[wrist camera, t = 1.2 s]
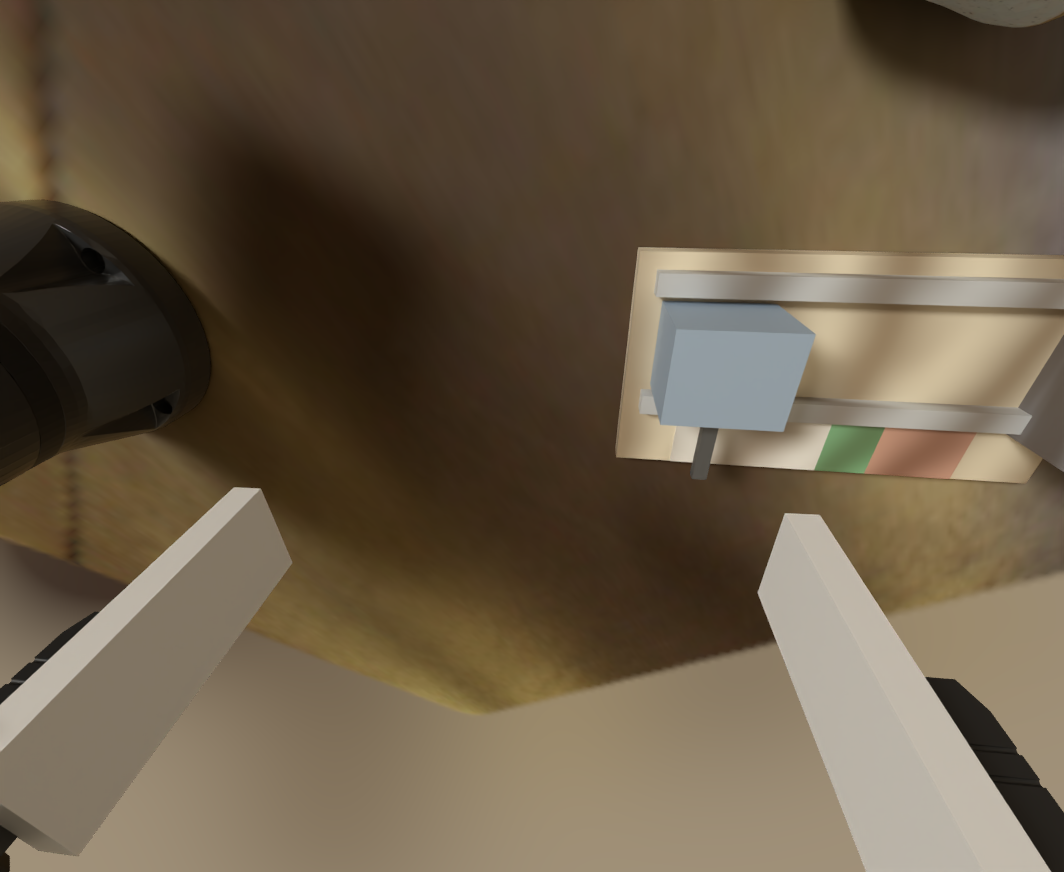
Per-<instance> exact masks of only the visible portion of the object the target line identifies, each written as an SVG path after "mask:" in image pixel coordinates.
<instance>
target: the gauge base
mask: <svg viewBox="0 0 1064 872" xmlns="http://www.w3.org/2000/svg"><path fill="white" fill-rule="evenodd" d="M662 301H694V302H727V303H761V304H778V305H779V306H780V307H782V308H783V309H784V310H785V311H787V312H788V313H789V314H791V315H792V316H793V317H794V318H796V319H797V320H798V321H800V322H801V323H802V324H803V325H805V326H806V327H807V328H808V329H810V330H811V331H812V332H814V333H815V334H816V336H815V339H814V342H813V345H812V348H811V351H810V354H809V357H808V360H807V363H806V366H805V369H804V372H803V375H802V378H801V381H800V384H799V387H798V390H797V393H796V396H795V399H794V402H793V405H792V408H791V411H790V414H789V417H788V420H787V423H786V426H785V429H784V432H776V431H759V430H741V429H724V428H719V429H718V434H717V438H716V442H715V446H714V450H713V454H712V458H711V462H710V464H725V465H740V466H756V467H771V468H787V469H802V470H818V471H833V472H849V473H864V474H880V475H895V476H911V477H926V478H942V479H964V480H980V481H995V482H1011V483H1026V482H1027V481H1028V479H1029V478H1030V477H1031V475H1032V474H1033V472H1034V471H1035V469H1036V468H1037V467H1038V465H1039V464H1040V462H1041V461H1042V459H1045V460H1046V461H1048V462H1049V463H1051V464H1052V465H1054V466H1055V467H1057V468H1058V469H1060V470H1061V471H1063V472H1064V255H1022V254H969V253H916V252H862V251H809V250H756V249H702V248H649V247H638V253H637V262H636V271H635V280H634V289H633V298H632V306H631V315H630V324H629V333H628V342H627V350H626V359H625V368H624V377H623V386H622V395H621V403H620V412H619V421H618V430H617V439H616V447H615V448H616V457H622V458H638V459H654V460H669V461H678V462H693V457H694V453H695V448H696V444H697V439H698V435H699V430H700V427H688V426H671V425H660V422H659V418H658V414H657V410H656V406H655V402H654V398H653V394H652V390H651V386H650V381H651V375H652V368H653V361H654V354H655V348H656V341H657V334H658V327H659V321H660V314H661V307H662Z"/></svg>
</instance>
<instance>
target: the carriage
mask: <svg viewBox="0 0 1064 872" xmlns="http://www.w3.org/2000/svg"><path fill="white" fill-rule="evenodd" d="M815 336H816V334H815V333H814V332H812V331H811V330H810V329H808V328H807V327H806V326H805V325H803V324H802V323H801V322H800V321H798V320H797V319H796V318H794V317H793V316H792V315H791V314H789V313H788V312H787V311H785V310H784V309H783V308H782V307H780V306H779V305H778V304H761V303H727V302H694V301H662V307H661V314H660V321H659V327H658V334H657V341H656V348H655V354H654V361H653V368H652V375H651V381H650V386H651V390H652V394H653V398H654V402H655V406H656V410H657V414H658V418H659V422H660V425H671V426H688V427H700V430H699V435H698V439H697V444H696V448H695V453H694V457H693V462H692V466H691V471H690V474H691V477H692V479H702V480H706V478H707V474H708V470H709V466H710V462H711V458H712V454H713V450H714V446H715V442H716V438H717V434H718V429H719V428H724V429H741V430H759V431H776V432H784V429H785V426H786V423H787V420H788V417H789V414H790V411H791V408H792V405H793V402H794V399H795V396H796V393H797V390H798V387H799V384H800V381H801V378H802V375H803V372H804V369H805V366H806V363H807V360H808V357H809V354H810V351H811V348H812V345H813V342H814V339H815Z"/></svg>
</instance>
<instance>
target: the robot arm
mask: <svg viewBox="0 0 1064 872" xmlns="http://www.w3.org/2000/svg"><path fill="white" fill-rule="evenodd" d="M210 367H211V366H210V354H209V348H208V344H207V340H206V337H205V334H204V331H203V328H202V326H201V323H200V321H199V319H198V317H197V314H196V312H195V310H194V309H193V307H192V305H191V303H190V302H189V300H188V298H187V297H186V295H185V294H184V292H183V291H182V289H181V288H180V287H179V285H178V284H177V283H176V281H175V280H174V279H173V277H172V276H171V275H170V274H169V273H168V271H167V270H166V269H165V268H164V267H163V266H162V265H161V264H160V263H159V262H158V260H157V259H155V258H154V257H153V256H152V255H151V254H150V253H149V252H148V251H147V250H146V249H145V248H144V247H143V246H141V245H140V244H139V243H138V242H137V241H135V240H134V239H133V238H132V237H130V236H129V235H127V234H126V233H125V232H123V231H122V230H120V229H119V228H117V227H116V226H114V225H113V224H111V223H109V222H108V221H106V220H104V219H102V218H100V217H98V216H96V215H94V214H92V213H90V212H88V211H86V210H83V209H80V208H78V207H75V206H72V205H68V204H65V203H60V202H56V201H49V200H25V201H11V202H0V486H1V485H3V484H5V483H7V482H8V481H10V480H12V479H14V478H15V477H17V476H19V475H21V474H23V473H24V472H26V471H27V470H29V469H31V468H33V467H35V466H37V465H38V464H40V463H42V462H44V461H46V460H48V459H50V458H52V457H53V456H55V455H57V454H59V453H62V452H65V451H70V450H74V449H78V448H83V447H87V446H91V445H96V444H100V443H104V442H109V441H113V440H117V439H122V438H126V437H130V436H135V435H139V434H143V433H148V432H151V431H154V430H157V429H159V428H162V427H164V426H166V425H168V424H169V423H171V422H173V421H174V420H176V419H178V418H179V417H181V416H182V415H184V414H186V413H187V412H189V411H190V410H192V409H193V408H194V407H195V406H196V405H197V404H198V403H199V402H200V401H201V399H202V398H203V396H204V394H205V392H206V390H207V387H208V383H209V379H210ZM291 564H292V560H291V558H290V556H289V553H288V551H287V549H286V546H285V544H284V542H283V539H282V537H281V535H280V532H279V530H278V528H277V525H276V523H275V520H274V518H273V516H272V513H271V511H270V509H269V506H268V504H267V502H266V499H265V497H264V495H263V492H262V490H261V489H259V488H238V487H234V488H233V489H232V490H231V491H229V492H228V493H227V494H226V495H225V496H224V497H223V498H222V499H221V500H220V501H219V502H218V503H217V504H216V505H214V506H213V507H212V508H211V509H210V510H209V511H208V512H207V513H206V514H205V515H204V516H203V517H202V518H200V519H199V520H198V521H197V522H196V523H195V524H194V525H193V526H192V527H191V528H190V529H189V530H188V531H187V532H185V533H184V534H183V535H182V536H181V537H180V538H179V539H178V540H177V541H176V542H175V543H174V544H173V545H171V546H170V547H169V548H168V549H167V550H166V551H165V552H164V553H163V554H162V555H161V556H160V557H159V558H157V559H156V560H155V561H154V562H153V563H152V564H151V565H150V566H149V567H148V568H147V569H146V570H145V571H144V572H142V573H141V574H140V575H139V576H138V577H137V578H136V579H135V580H134V581H133V582H132V583H131V584H130V585H128V586H127V588H125V589H124V590H123V591H122V592H121V593H120V594H119V595H118V596H117V597H116V598H115V599H114V600H112V601H111V602H110V603H109V604H108V605H107V606H106V607H105V608H104V609H103V610H102V611H101V612H94V613H92V614H90V615H89V616H87V617H86V618H84V619H83V620H81V621H80V622H78V623H76V624H75V625H73V626H72V627H70V628H69V629H67V630H66V631H64V632H63V633H62V634H60V635H59V636H58V637H57V638H56V639H55V640H54V641H52V642H51V644H49V645H48V646H47V647H46V648H45V649H44V650H42V652H40V653H39V654H38V655H37V656H36V657H35V660H34V662H32V663H28V664H27V665H26V666H25V667H24V668H23V669H22V670H20V671H19V672H18V673H17V674H16V675H15V676H14V677H13V678H12V681H11V682H10V683H9V684H5V685H4V686H3V687H2V688H0V872H9V871H10V856H9V855H7V854H6V853H5V851H6V850H7V849H8V847H9V846H10V845H11V844H12V843H13V841H14V840H15V839H16V838H17V837H18V838H19V839H21V840H22V841H24V842H26V843H27V844H29V845H30V846H32V847H33V848H35V849H37V850H38V851H44V852H51V853H58V854H65V855H73V856H79V854H80V853H81V852H82V850H83V849H84V848H85V846H86V845H87V843H88V842H89V841H90V839H91V838H92V837H93V835H94V834H95V832H96V831H97V830H98V828H99V827H100V825H101V824H102V823H103V822H104V820H105V819H106V817H107V816H108V815H109V813H110V812H111V810H112V809H113V808H114V806H115V805H116V804H117V802H118V801H119V800H120V798H121V797H122V795H123V794H124V793H125V791H126V790H127V788H128V787H129V786H130V785H131V783H132V782H133V780H134V779H135V778H136V776H137V775H138V774H139V772H140V771H141V769H142V768H143V767H144V765H145V764H146V763H147V761H148V760H149V758H150V757H151V756H152V754H153V753H154V752H155V750H156V749H157V748H158V746H159V745H160V743H161V742H162V740H163V739H164V738H165V737H166V735H167V734H168V732H169V731H170V730H171V728H172V727H173V726H174V724H175V723H176V722H177V720H178V719H179V717H180V716H181V715H182V713H183V712H184V711H185V709H186V708H187V706H188V705H189V704H190V702H191V701H192V699H193V698H194V697H195V696H196V694H197V693H198V691H199V690H200V689H201V687H202V686H203V684H204V683H205V682H206V680H207V679H208V678H209V676H210V675H211V674H212V672H213V671H214V669H215V668H216V667H217V665H218V664H219V663H220V661H221V660H222V659H223V657H224V656H225V654H226V653H227V652H228V650H229V649H230V647H231V646H232V645H233V643H234V642H235V641H236V639H237V638H238V637H239V635H240V634H241V633H242V631H243V630H244V628H245V627H246V626H247V624H248V623H249V622H250V620H251V619H252V617H253V616H254V615H255V613H256V612H257V611H258V609H259V608H260V606H261V605H262V604H263V602H264V601H265V600H266V598H267V597H268V596H269V594H270V593H271V591H272V590H273V589H274V587H275V586H276V585H277V583H278V582H279V580H280V579H281V578H282V576H283V575H284V574H285V572H286V571H287V570H288V568H289V567H290V565H291ZM758 595H759V598H760V600H761V603H762V605H763V608H764V611H765V613H766V616H767V618H768V621H769V623H770V626H771V629H772V631H773V634H774V636H775V639H776V641H777V644H778V647H779V649H780V652H781V654H782V657H783V659H784V662H785V664H786V667H787V670H788V672H789V675H790V677H791V680H792V682H793V685H794V687H795V690H796V693H797V695H798V698H799V700H800V703H801V705H802V708H803V711H804V713H805V716H806V718H807V721H808V724H809V726H810V728H811V731H812V734H813V736H814V739H815V742H816V744H817V747H818V749H819V752H820V754H821V757H822V759H823V762H824V764H825V767H826V770H827V772H828V775H829V777H830V780H831V782H832V785H833V788H834V790H835V793H836V795H837V798H838V801H839V803H840V806H841V808H842V810H843V813H844V816H845V818H846V821H847V824H848V826H849V829H850V831H851V834H852V837H853V839H854V842H855V844H856V846H857V849H858V852H859V854H860V857H861V860H862V862H863V865H864V867H865V870H866V872H1064V812H1063V811H1062V810H1061V808H1060V807H1059V806H1058V804H1057V803H1056V801H1055V800H1054V799H1053V797H1052V796H1051V794H1050V793H1049V792H1048V790H1047V789H1046V788H1043V787H1042V786H1041V785H1040V783H1039V780H1040V779H1039V778H1038V776H1037V775H1036V774H1035V772H1034V771H1033V770H1032V768H1031V767H1030V766H1029V764H1028V763H1027V761H1026V760H1025V759H1024V757H1023V756H1022V755H1019V754H1018V753H1017V751H1016V749H1017V748H1016V746H1015V745H1014V744H1013V742H1012V741H1011V739H1010V738H1009V737H1008V735H1007V734H1006V732H1005V731H1004V730H1003V728H1002V727H1001V726H1000V724H999V723H998V721H997V720H996V719H995V717H994V716H993V715H992V713H991V712H990V711H989V710H988V709H987V708H986V707H985V706H984V705H983V704H982V703H980V702H979V701H978V700H977V699H976V698H975V697H974V696H973V695H972V694H970V693H969V692H968V691H967V690H966V689H965V688H964V687H963V686H961V685H960V684H959V683H958V682H957V681H956V680H954V679H943V678H942V679H941V678H930V677H924V675H923V674H922V672H921V671H920V669H919V667H918V666H917V664H916V663H915V661H914V660H913V658H912V656H911V655H910V654H909V652H908V650H907V649H906V647H905V646H904V644H903V643H902V641H901V639H900V638H899V636H898V635H897V633H896V632H895V630H894V629H893V627H892V626H891V624H890V623H889V621H888V619H887V618H886V616H885V615H884V613H883V612H882V610H881V609H880V607H879V606H878V604H877V602H876V601H875V599H874V598H873V596H872V595H871V593H870V592H869V590H868V589H867V587H866V586H865V584H864V582H863V581H862V579H861V578H860V576H859V575H858V573H857V572H856V570H855V569H854V567H853V565H852V564H851V562H850V561H849V559H848V558H847V556H846V555H845V553H844V552H843V550H842V549H841V547H840V545H839V544H838V542H837V541H836V539H835V538H834V536H833V535H832V533H831V532H830V530H829V528H828V527H827V525H826V524H825V522H824V521H823V519H822V518H821V516H820V515H811V514H789V513H785V515H784V518H783V520H782V523H781V526H780V529H779V532H778V535H777V538H776V541H775V544H774V547H773V550H772V552H771V555H770V558H769V561H768V564H767V567H766V570H765V573H764V576H763V579H762V581H761V584H760V587H759V590H758Z"/></svg>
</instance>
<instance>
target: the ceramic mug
mask: <svg viewBox="0 0 1064 872" xmlns="http://www.w3.org/2000/svg"><path fill="white" fill-rule="evenodd" d="M927 1H929V2H932V3H935V4H938V5H941V6H944V7H946V8H948V9H951V10H953V11H955V12H957V13H959V14H962V15H964V16H966V17H968V18H970V19H973V20H976V21H979V22H982V23H985V24H991V25H999V26H1006V27H1013V28H1017V27H1031V26H1036V25H1040V24H1044V23H1046V22H1049V21H1051V20H1054V19H1056V18H1059V17H1061V16H1064V0H927Z"/></svg>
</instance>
